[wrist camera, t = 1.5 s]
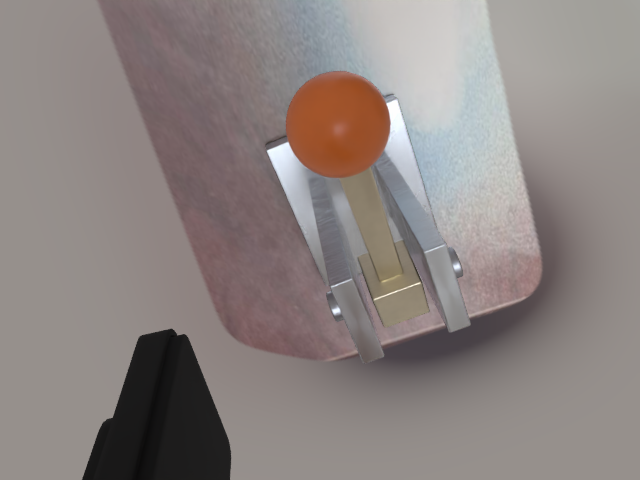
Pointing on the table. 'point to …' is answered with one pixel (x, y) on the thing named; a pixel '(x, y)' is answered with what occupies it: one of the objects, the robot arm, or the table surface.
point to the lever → (357, 179)
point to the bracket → (347, 243)
